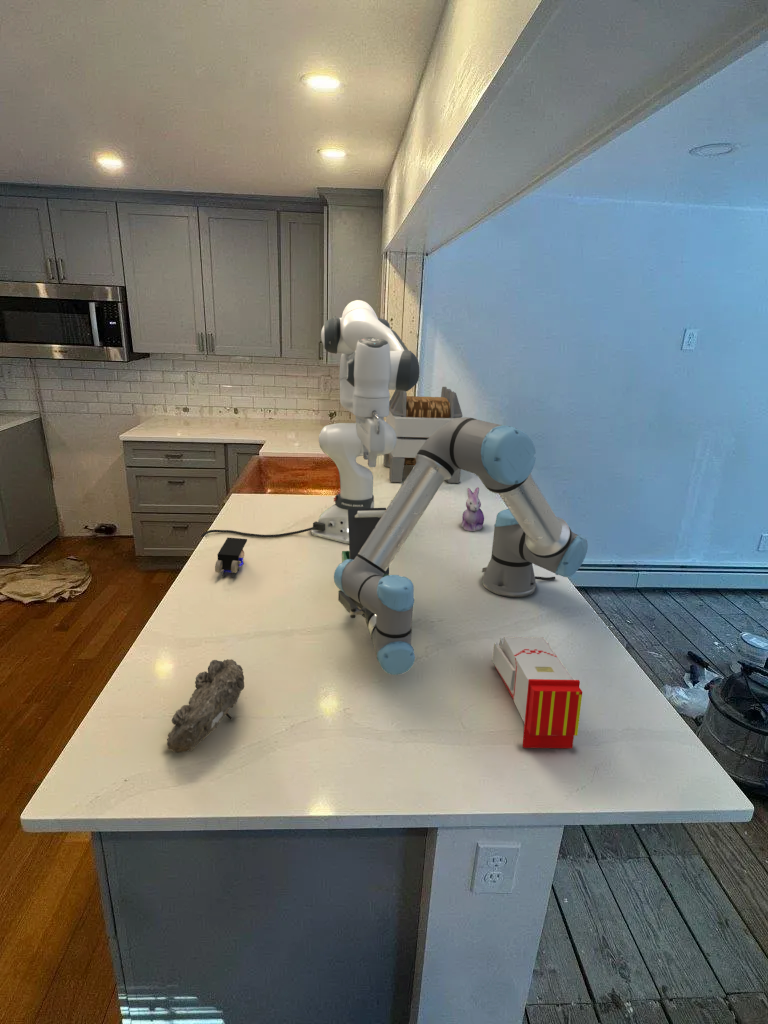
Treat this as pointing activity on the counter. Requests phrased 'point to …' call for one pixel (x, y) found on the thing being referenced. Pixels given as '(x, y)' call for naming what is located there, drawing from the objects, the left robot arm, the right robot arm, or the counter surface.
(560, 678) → the toy
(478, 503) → the figurine
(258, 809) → the counter surface
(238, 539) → the black toy car
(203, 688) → the fossil
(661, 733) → the counter surface
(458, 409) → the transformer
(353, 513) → the lid
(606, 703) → the counter surface
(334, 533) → the left robot arm
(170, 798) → the counter surface
